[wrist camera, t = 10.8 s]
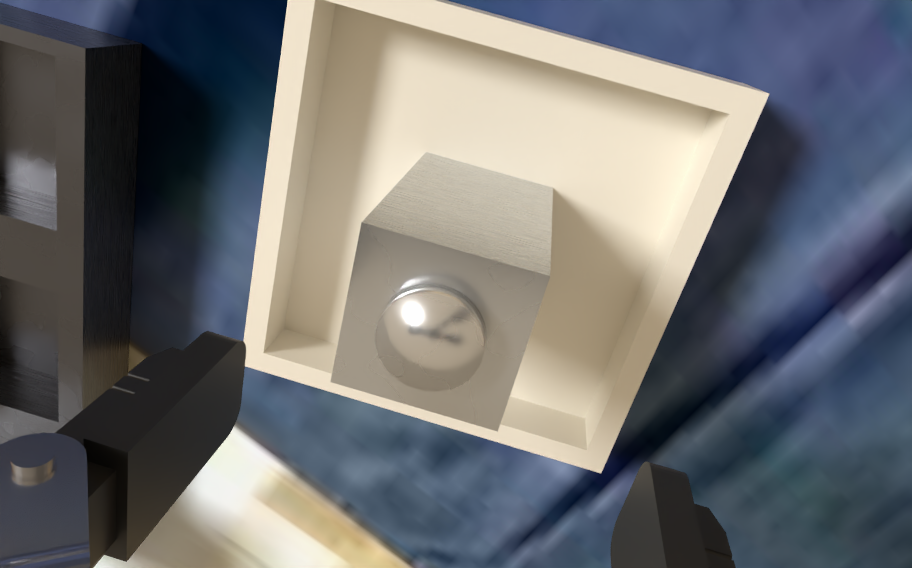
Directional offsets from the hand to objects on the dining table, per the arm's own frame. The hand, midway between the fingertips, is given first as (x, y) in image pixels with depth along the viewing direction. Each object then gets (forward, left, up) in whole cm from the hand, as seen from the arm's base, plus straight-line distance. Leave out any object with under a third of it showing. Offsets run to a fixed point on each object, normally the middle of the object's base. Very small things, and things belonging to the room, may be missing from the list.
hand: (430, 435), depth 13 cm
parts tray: (+1, 0, -12) cm, 12 cm away
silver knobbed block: (+1, 0, -12) cm, 12 cm away
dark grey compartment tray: (+18, +9, -12) cm, 23 cm away
